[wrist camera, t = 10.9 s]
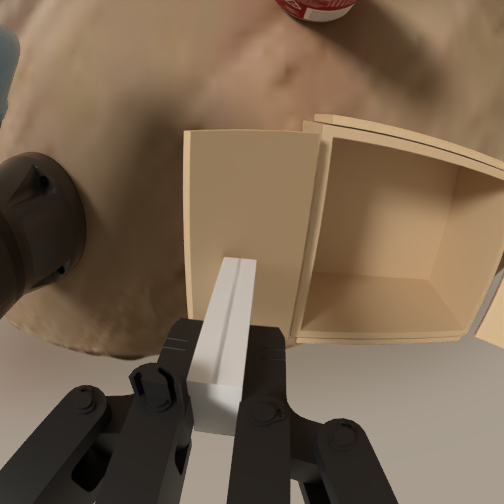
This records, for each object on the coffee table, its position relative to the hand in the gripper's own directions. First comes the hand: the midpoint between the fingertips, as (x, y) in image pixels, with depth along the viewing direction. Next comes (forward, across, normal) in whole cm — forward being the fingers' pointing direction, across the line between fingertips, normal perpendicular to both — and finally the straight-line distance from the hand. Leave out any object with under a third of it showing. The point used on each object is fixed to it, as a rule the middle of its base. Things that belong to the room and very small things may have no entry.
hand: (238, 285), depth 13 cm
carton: (+14, +11, 0) cm, 18 cm away
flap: (+1, +1, 0) cm, 2 cm away
